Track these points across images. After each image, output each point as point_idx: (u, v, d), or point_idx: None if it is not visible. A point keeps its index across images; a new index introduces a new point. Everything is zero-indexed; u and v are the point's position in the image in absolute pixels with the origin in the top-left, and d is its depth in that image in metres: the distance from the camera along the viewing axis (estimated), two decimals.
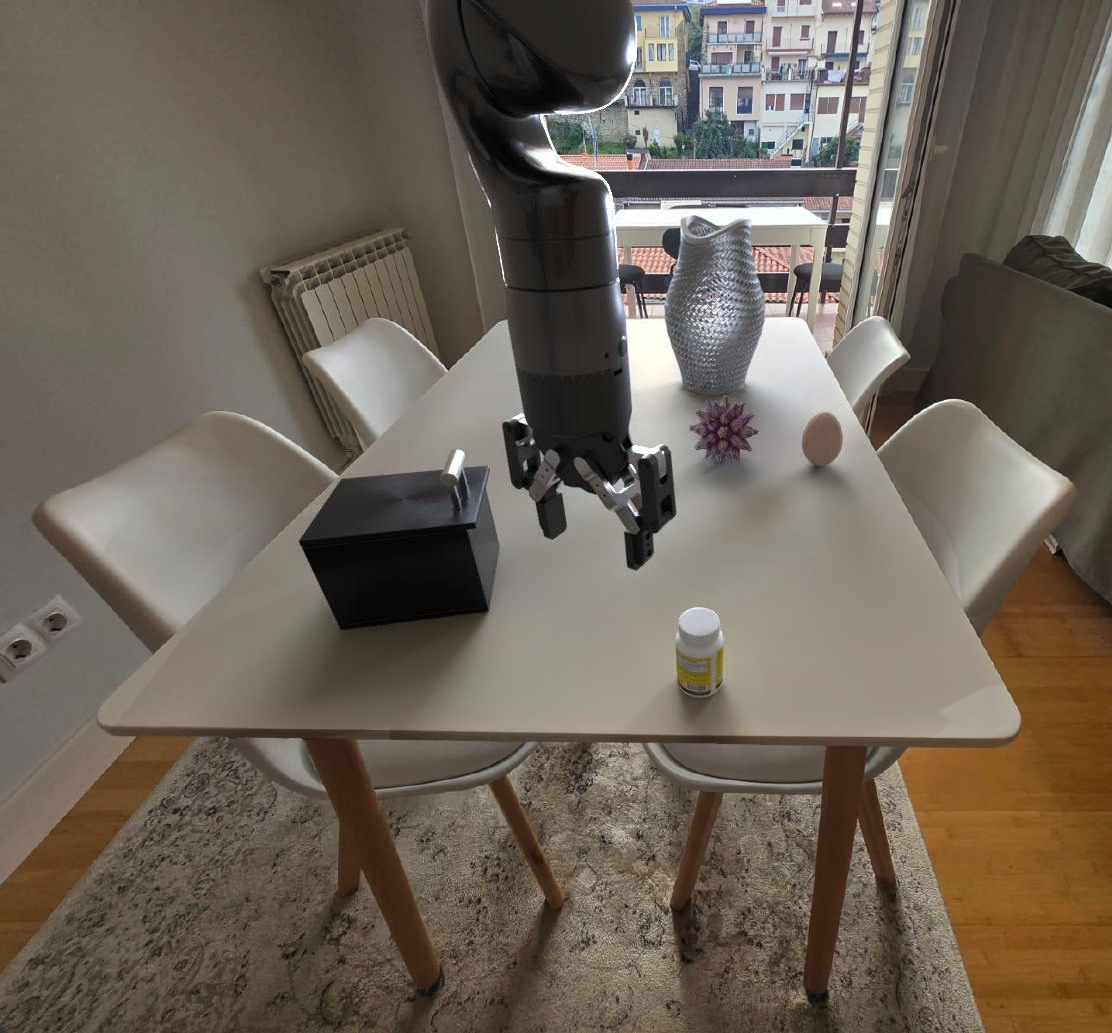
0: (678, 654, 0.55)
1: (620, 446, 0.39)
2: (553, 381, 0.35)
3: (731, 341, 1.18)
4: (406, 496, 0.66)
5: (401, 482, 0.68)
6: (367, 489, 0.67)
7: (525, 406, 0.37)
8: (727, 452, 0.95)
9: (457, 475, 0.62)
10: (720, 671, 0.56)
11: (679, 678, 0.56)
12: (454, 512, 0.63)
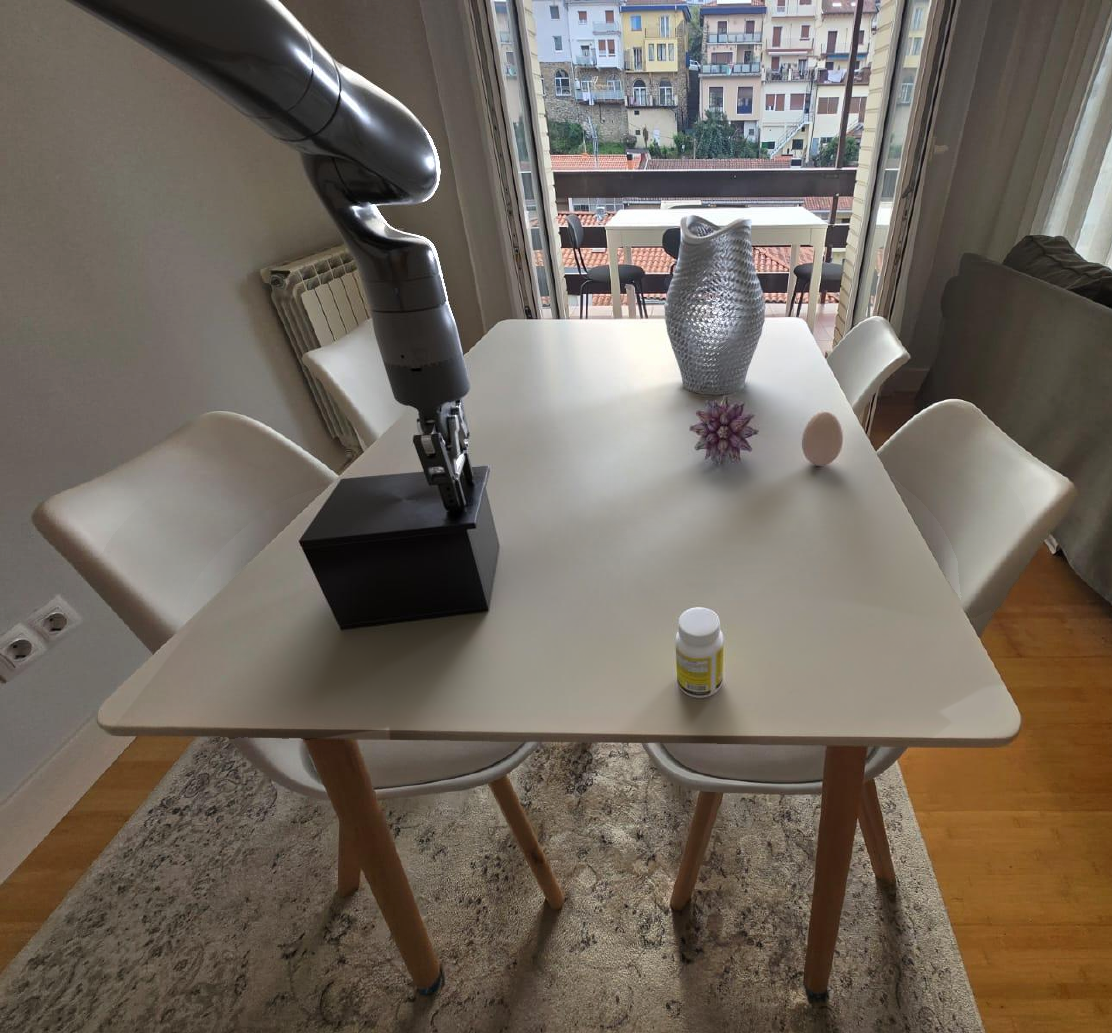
0: (678, 654, 0.55)
1: (422, 419, 0.57)
2: (384, 363, 0.56)
3: (731, 341, 1.18)
4: (406, 496, 0.66)
5: (401, 482, 0.68)
6: (367, 489, 0.67)
7: None
8: (727, 452, 0.95)
9: None
10: (720, 672, 0.56)
11: (679, 678, 0.56)
12: (454, 512, 0.63)
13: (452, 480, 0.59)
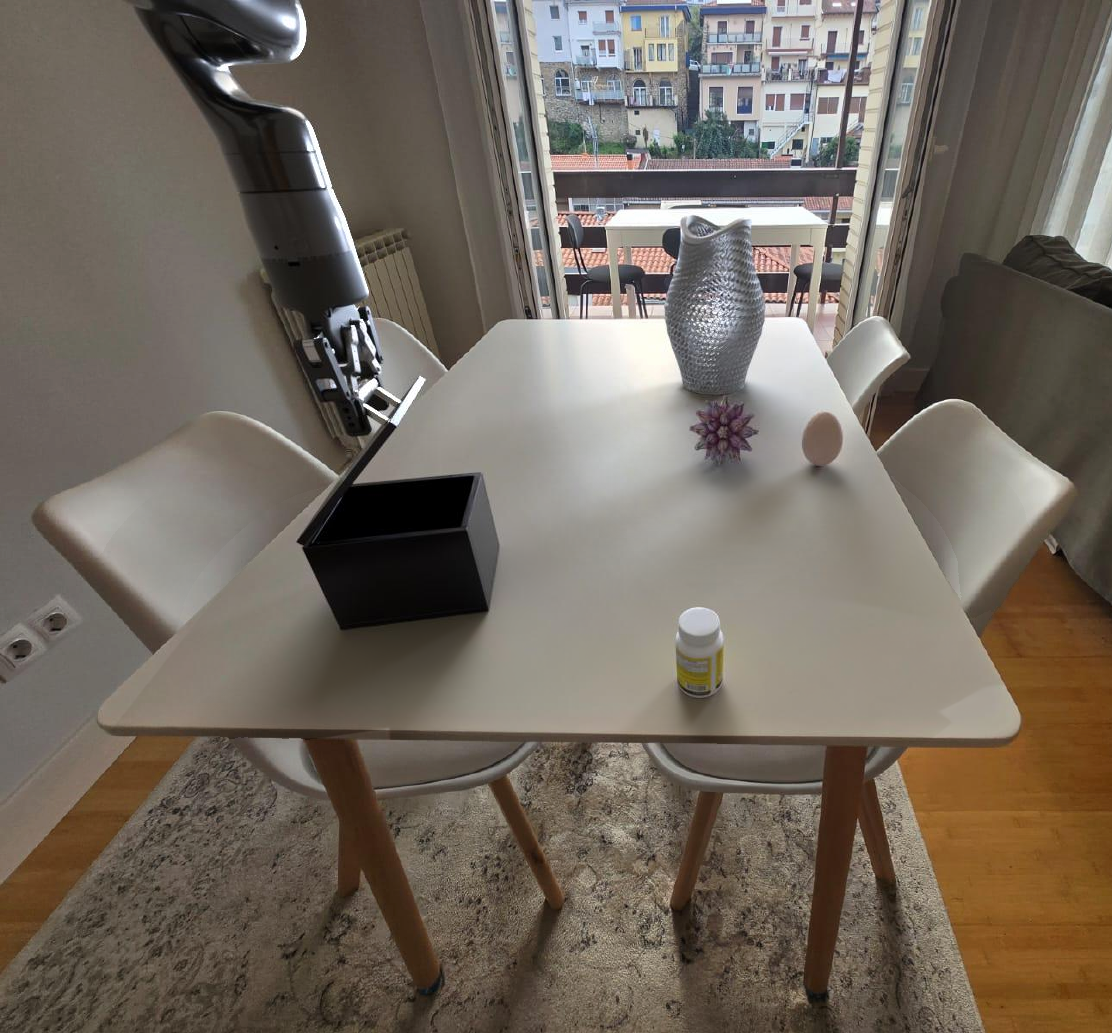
0: (678, 654, 0.55)
1: (308, 324, 0.50)
2: None
3: (731, 341, 1.18)
4: (363, 450, 0.62)
5: (366, 445, 0.65)
6: (347, 470, 0.65)
7: None
8: (727, 452, 0.95)
9: None
10: (720, 671, 0.56)
11: (679, 678, 0.56)
12: None
13: (346, 396, 0.52)
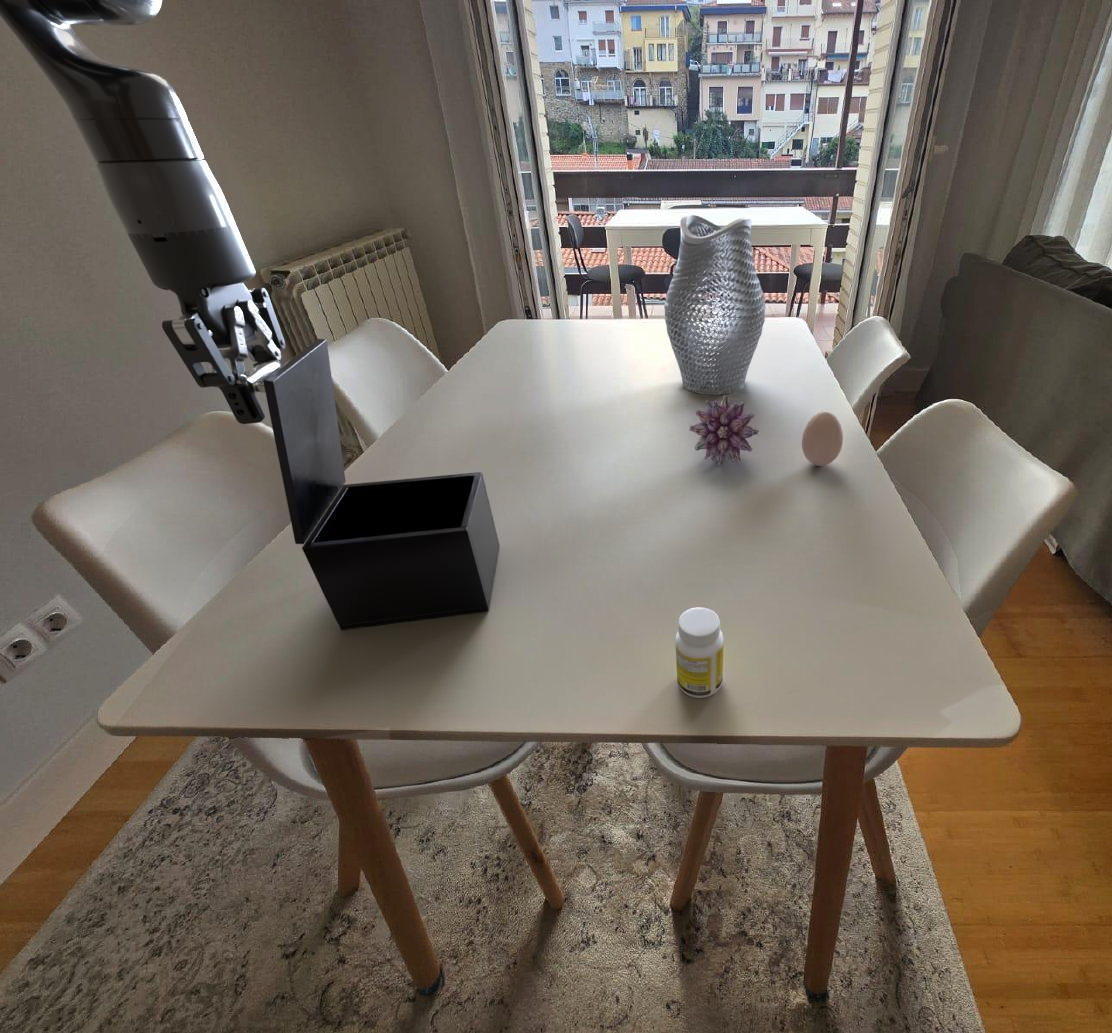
0: (678, 654, 0.55)
1: (182, 304, 0.48)
2: None
3: (731, 341, 1.18)
4: None
5: None
6: None
7: None
8: (727, 452, 0.95)
9: None
10: (720, 671, 0.56)
11: (679, 678, 0.56)
12: None
13: (228, 380, 0.50)
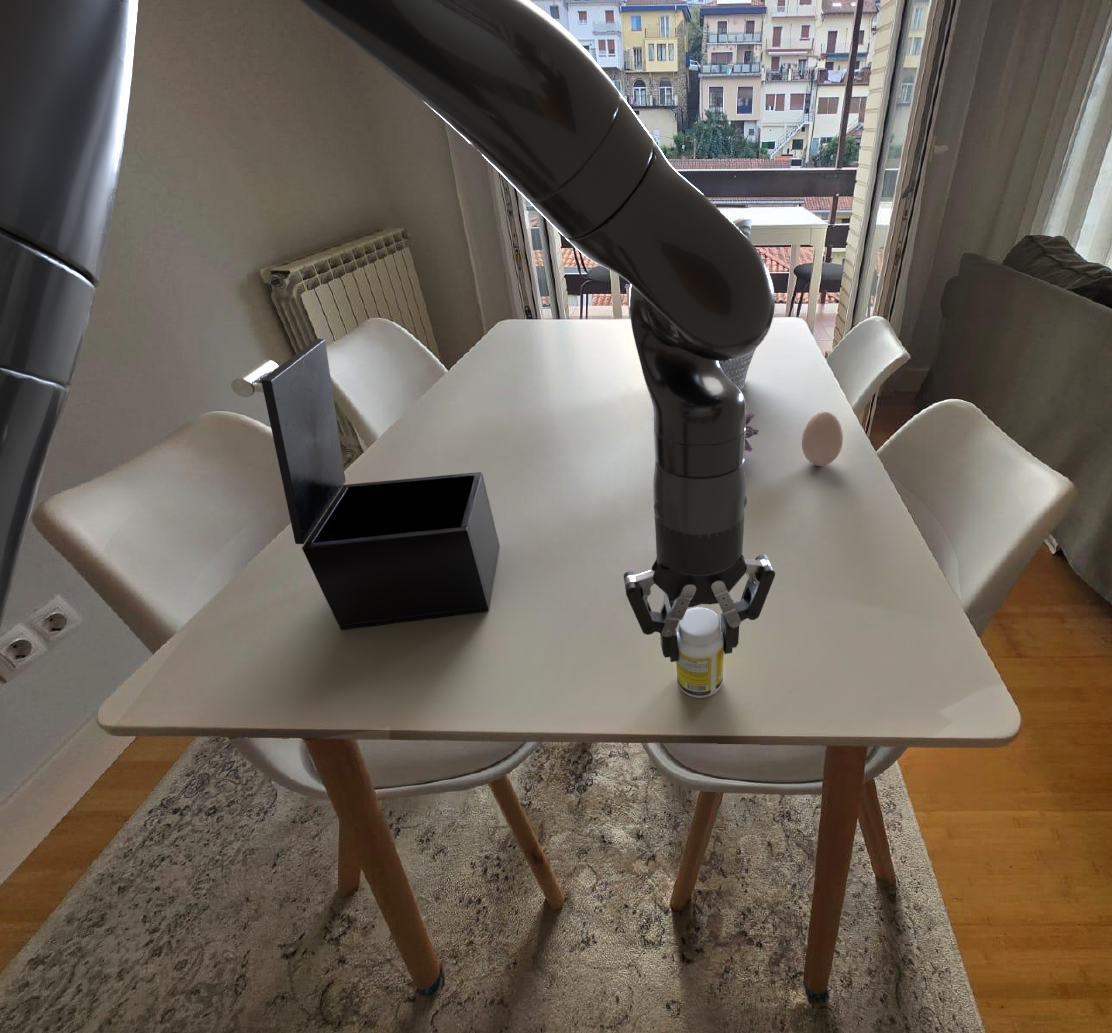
0: (678, 654, 0.55)
1: None
2: None
3: None
4: None
5: None
6: None
7: None
8: None
9: (240, 376, 0.53)
10: (720, 671, 0.56)
11: (679, 678, 0.56)
12: None
13: (644, 631, 0.52)
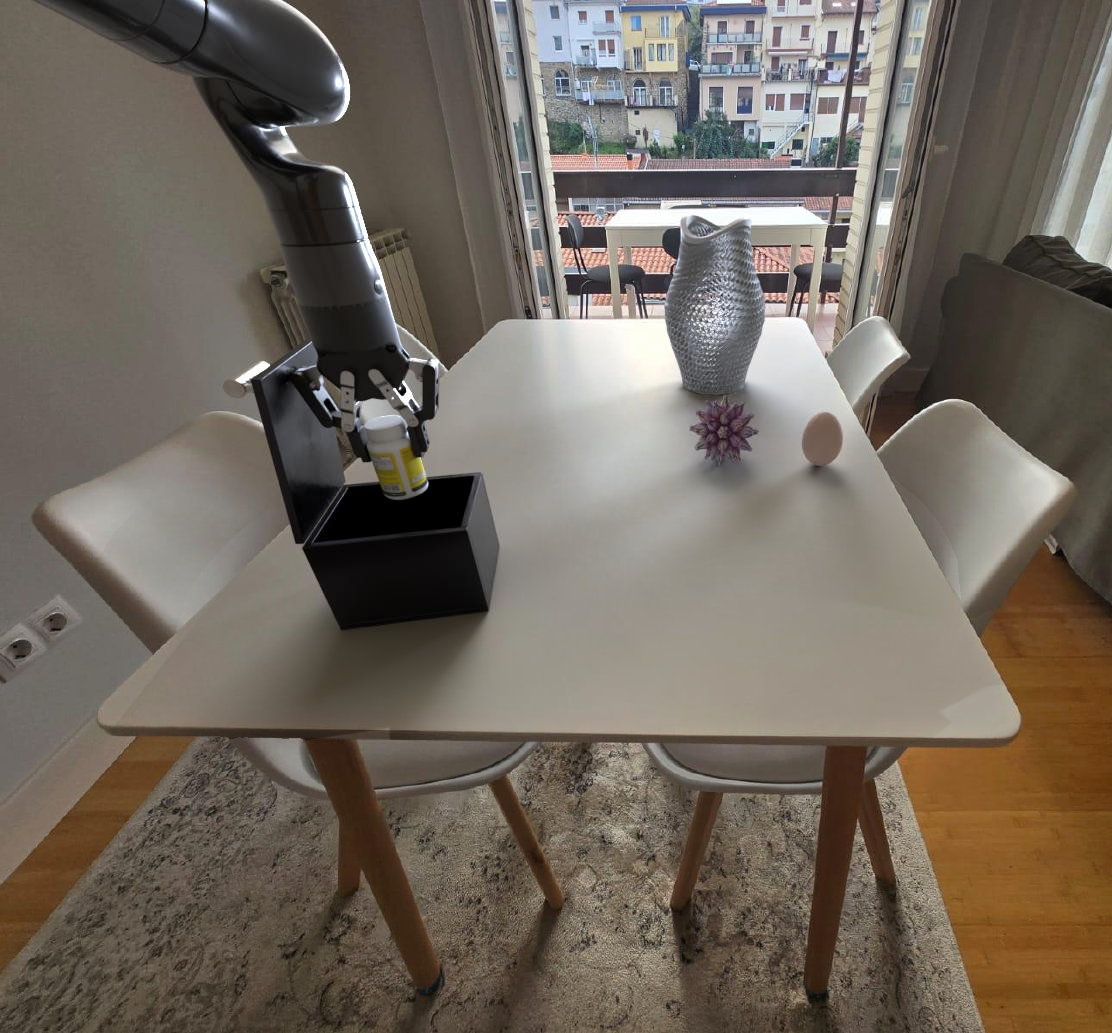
0: (369, 454, 0.61)
1: None
2: None
3: (731, 341, 1.18)
4: None
5: None
6: None
7: None
8: (727, 452, 0.95)
9: (231, 378, 0.53)
10: (415, 475, 0.62)
11: None
12: None
13: (322, 423, 0.58)
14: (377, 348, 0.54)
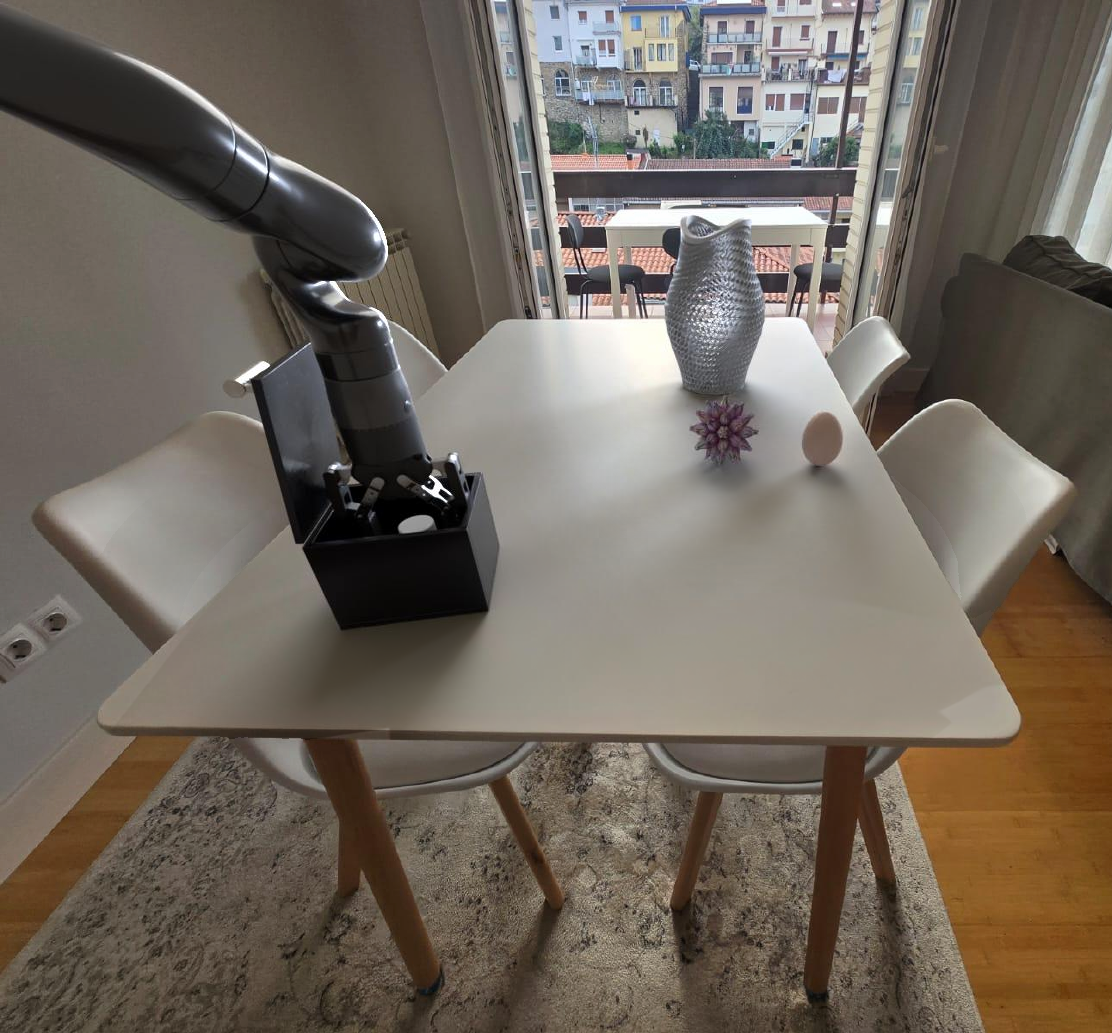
0: None
1: None
2: None
3: (731, 341, 1.18)
4: None
5: None
6: None
7: None
8: (727, 452, 0.95)
9: (231, 378, 0.53)
10: None
11: None
12: None
13: (337, 515, 0.63)
14: (406, 459, 0.60)
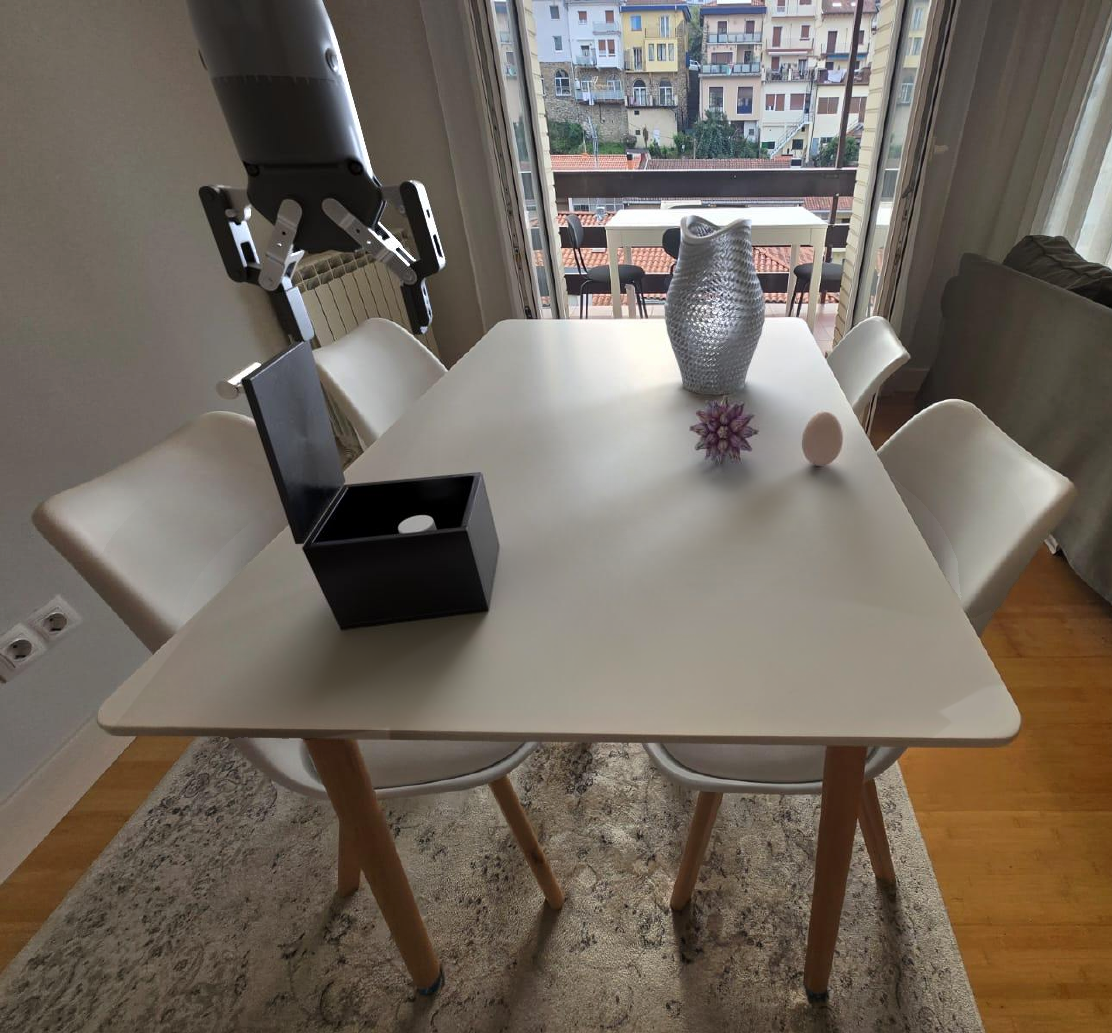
0: None
1: None
2: None
3: (731, 341, 1.18)
4: None
5: None
6: None
7: None
8: (727, 452, 0.95)
9: (223, 379, 0.53)
10: None
11: None
12: None
13: (231, 275, 0.40)
14: (333, 160, 0.36)
